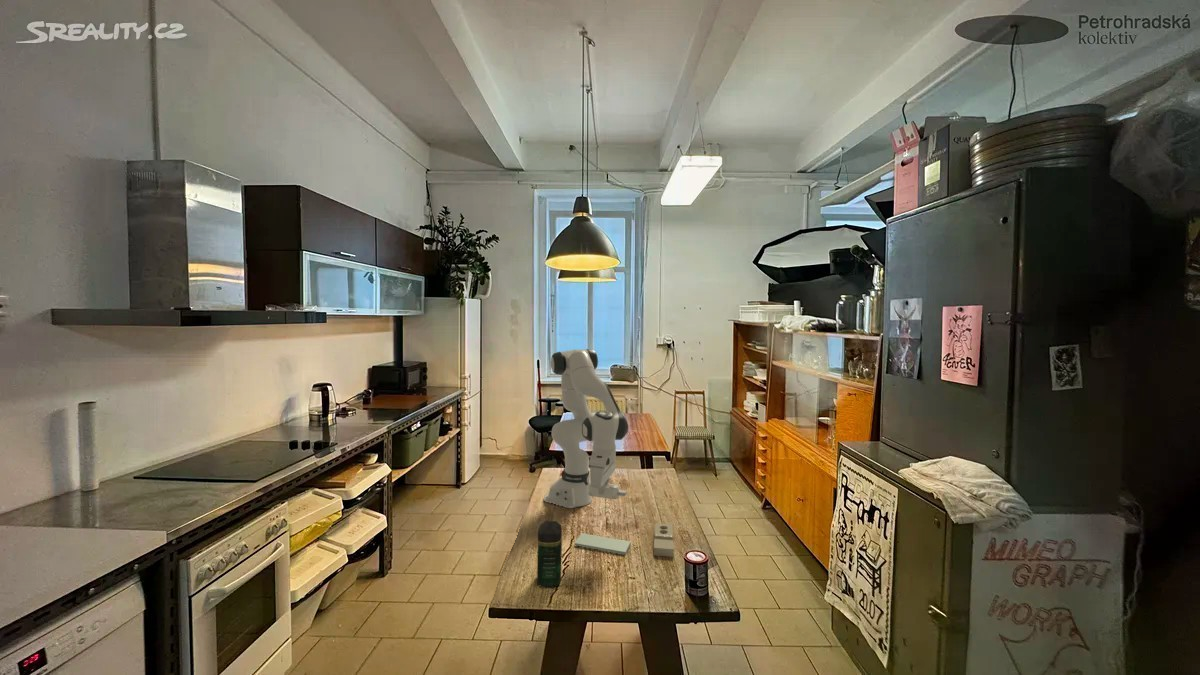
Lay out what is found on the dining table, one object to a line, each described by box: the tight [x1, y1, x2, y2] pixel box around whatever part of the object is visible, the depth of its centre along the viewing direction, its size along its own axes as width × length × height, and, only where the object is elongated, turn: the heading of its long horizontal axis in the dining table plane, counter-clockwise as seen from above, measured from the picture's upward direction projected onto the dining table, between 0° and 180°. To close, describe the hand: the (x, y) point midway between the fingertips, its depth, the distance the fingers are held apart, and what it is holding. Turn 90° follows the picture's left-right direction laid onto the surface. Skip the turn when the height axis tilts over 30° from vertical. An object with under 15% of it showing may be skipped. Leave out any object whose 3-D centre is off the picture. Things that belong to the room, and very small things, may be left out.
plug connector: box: [588, 481, 628, 500], centre depth 168 cm, size 15×4×4 cm, turn 72°
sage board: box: [574, 532, 632, 556], centre depth 170 cm, size 20×8×1 cm, turn 72°
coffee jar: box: [536, 520, 563, 588], centre depth 147 cm, size 10×8×19 cm
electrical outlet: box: [653, 522, 675, 558], centre depth 172 cm, size 7×4×18 cm
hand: (603, 491), depth 169 cm, fingers closed on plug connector, 4 cm apart
